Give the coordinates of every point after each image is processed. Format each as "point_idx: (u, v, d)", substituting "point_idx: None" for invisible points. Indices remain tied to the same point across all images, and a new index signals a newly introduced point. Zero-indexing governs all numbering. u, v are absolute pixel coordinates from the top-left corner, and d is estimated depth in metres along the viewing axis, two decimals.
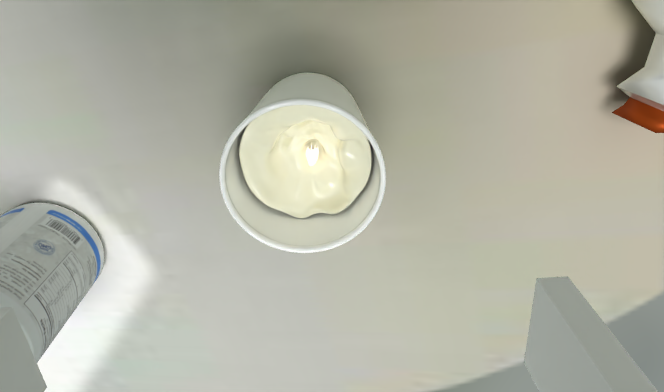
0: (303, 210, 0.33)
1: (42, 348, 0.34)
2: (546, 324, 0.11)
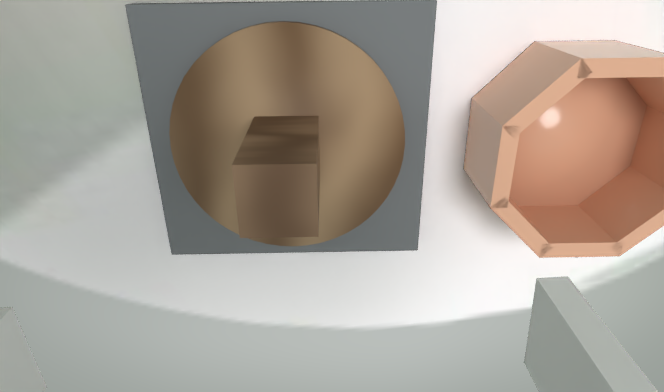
0: None
1: None
2: (546, 324, 0.11)
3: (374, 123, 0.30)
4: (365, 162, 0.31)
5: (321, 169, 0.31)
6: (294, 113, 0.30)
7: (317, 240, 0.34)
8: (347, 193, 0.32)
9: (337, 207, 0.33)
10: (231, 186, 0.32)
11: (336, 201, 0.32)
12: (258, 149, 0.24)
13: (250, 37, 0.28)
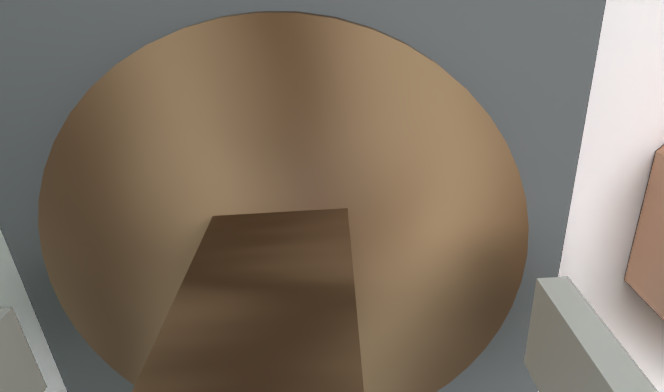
0: None
1: None
2: (546, 324, 0.11)
3: (464, 218, 0.14)
4: (444, 290, 0.15)
5: (355, 306, 0.16)
6: (297, 205, 0.14)
7: None
8: (407, 346, 0.16)
9: (388, 369, 0.17)
10: None
11: (386, 359, 0.17)
12: (198, 361, 0.09)
13: (188, 51, 0.12)
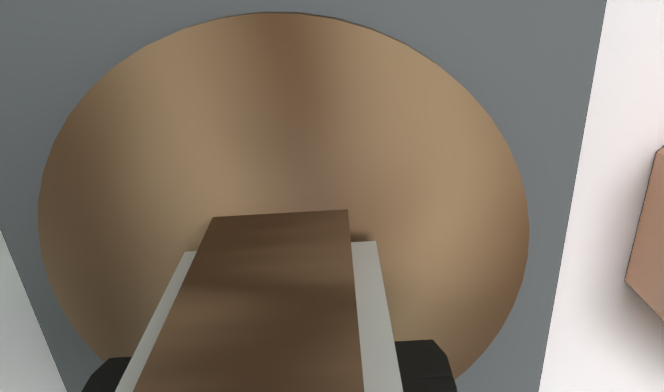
0: None
1: None
2: None
3: (465, 220, 0.14)
4: (444, 292, 0.15)
5: None
6: (297, 206, 0.14)
7: None
8: None
9: None
10: None
11: None
12: (197, 364, 0.09)
13: (188, 52, 0.12)
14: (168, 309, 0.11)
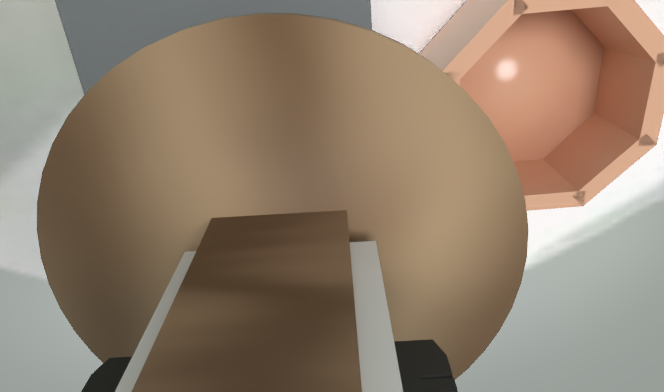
0: None
1: None
2: None
3: (464, 220, 0.14)
4: (443, 292, 0.15)
5: None
6: (296, 207, 0.14)
7: None
8: None
9: None
10: None
11: None
12: (196, 365, 0.09)
13: (187, 53, 0.12)
14: (168, 309, 0.11)
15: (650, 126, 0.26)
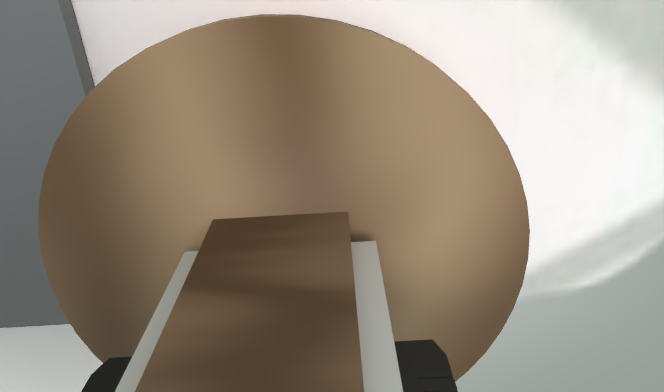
0: None
1: None
2: None
3: (465, 222, 0.14)
4: (445, 294, 0.15)
5: None
6: (297, 208, 0.14)
7: None
8: None
9: None
10: None
11: None
12: (198, 367, 0.09)
13: (188, 55, 0.12)
14: (168, 309, 0.11)
15: None
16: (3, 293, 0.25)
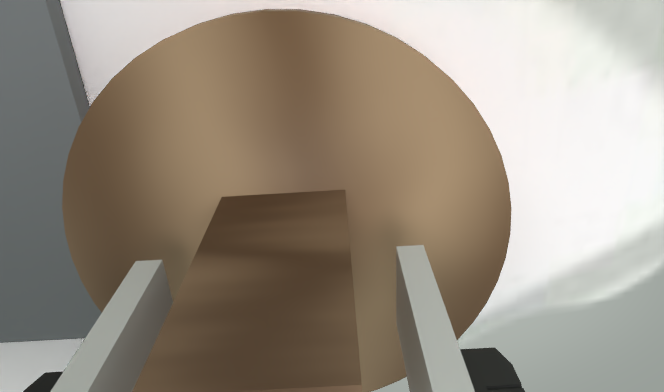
0: None
1: None
2: (400, 285, 0.13)
3: (452, 199, 0.16)
4: (434, 267, 0.17)
5: (352, 282, 0.17)
6: (299, 187, 0.15)
7: None
8: None
9: (383, 342, 0.18)
10: None
11: (381, 332, 0.18)
12: (213, 313, 0.10)
13: (201, 45, 0.13)
14: (108, 322, 0.11)
15: None
16: None
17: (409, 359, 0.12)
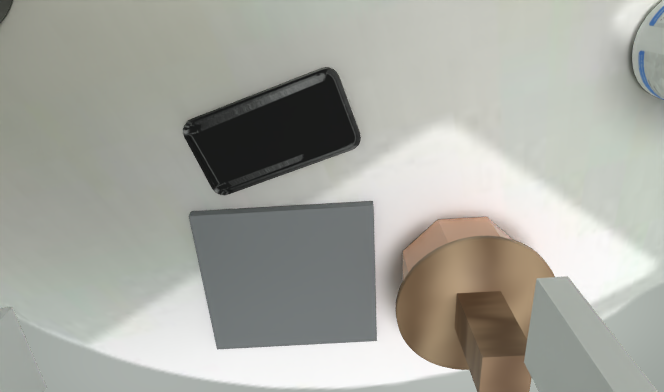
0: None
1: None
2: (546, 324, 0.11)
3: None
4: (529, 316, 0.45)
5: None
6: (484, 290, 0.44)
7: None
8: None
9: None
10: (434, 335, 0.46)
11: None
12: (487, 337, 0.38)
13: (461, 249, 0.42)
14: None
15: None
16: (310, 328, 0.53)
17: None
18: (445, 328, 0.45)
